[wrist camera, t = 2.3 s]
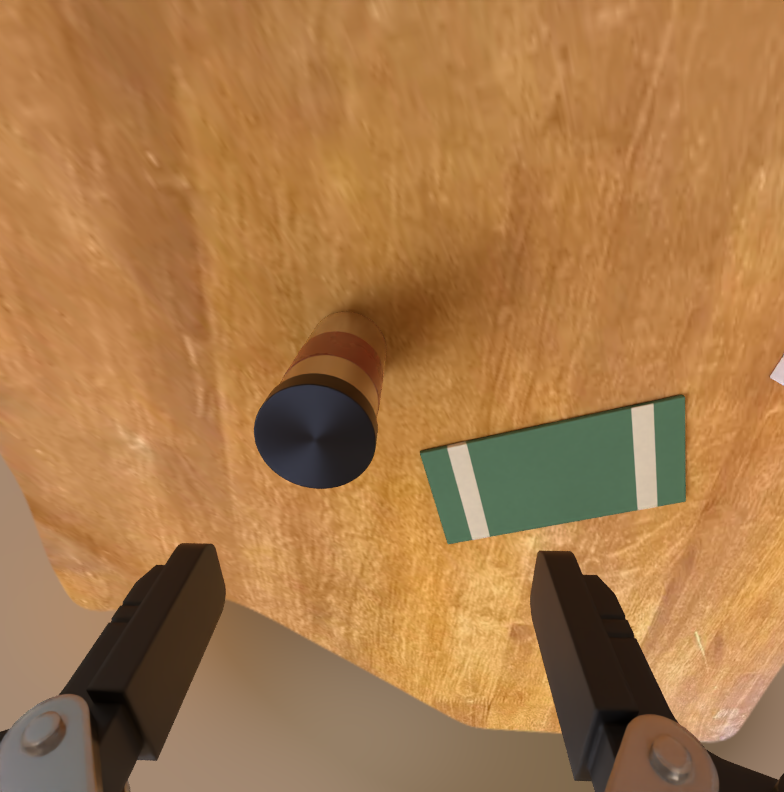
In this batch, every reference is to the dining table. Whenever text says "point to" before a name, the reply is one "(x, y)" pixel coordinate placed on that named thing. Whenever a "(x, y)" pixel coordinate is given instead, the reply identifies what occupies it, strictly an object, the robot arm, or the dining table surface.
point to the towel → (561, 471)
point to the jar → (326, 405)
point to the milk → (779, 372)
